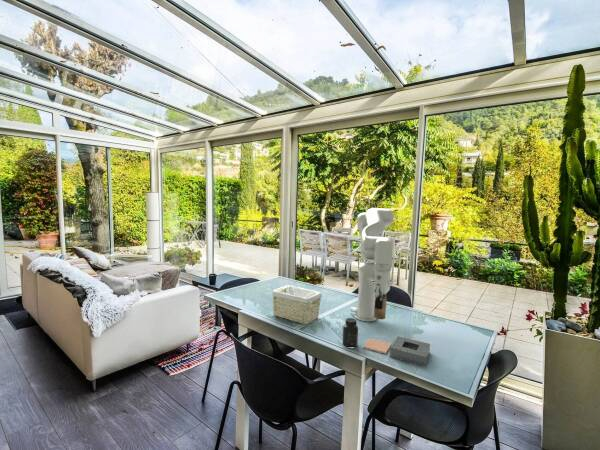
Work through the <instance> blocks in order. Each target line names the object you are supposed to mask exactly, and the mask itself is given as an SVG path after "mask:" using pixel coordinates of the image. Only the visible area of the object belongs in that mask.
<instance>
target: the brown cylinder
mask: <svg viewBox="0 0 600 450" xmlns="http://www.w3.org/2000/svg"><path fill="white" fill-rule="evenodd" d="M379 295H380V294H379ZM380 297H381V295H380ZM382 300H383V303H382V309H376V308H375V305H374V318H376V319H377V320H385V319H386V311H387V294H386V295H384V294H383V296H382Z"/></svg>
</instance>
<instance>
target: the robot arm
mask: <svg viewBox="0 0 600 450" xmlns="http://www.w3.org/2000/svg"><path fill="white" fill-rule="evenodd" d="M394 217H395V216H394V213H393V210H391V209H390V208H379V207H378V208H377V207H373V208H372V207H371V208H369V209H367V210H366V212H360V213H359V214H358V215H357V218H356V224H357V229H358V231H359V235H360V236H359V237H360V257H361V259H362V260H363V261H366V262H362V263H360V264H359V265H358V268H357V272H358V295H357V307H353V306H351V307H350V311H351V312H353V313H354V315H353V316H354V317H353V318H354V319H356V320H358V321H362V322H375V321H377V320H378V319H376V318H374V305H375V308H376V309H382V303H383V300H382V296H383V294H384V295H386V296H387V293H388V292H389V291H390V290H391V272H392V263H393V251H394V250H393V249H394V242H393V240H392V239H391V238H390V237H385V236H379V235H381V234H382V233H384V231H385V230H386V229H387V228H388V227H390V226H391V225H392V224H393V222H394V220H395V219H394ZM369 261H372V262H369ZM373 281H374V282H373ZM379 294H380V295H381V297H380V295H379Z"/></svg>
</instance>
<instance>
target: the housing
mask: <svg viewBox="0 0 600 450" xmlns="http://www.w3.org/2000/svg"><path fill="white" fill-rule="evenodd" d="M430 351H431V343H427V342H423V341H420V340H416V339H412V338H408V337H403V336H400V335H397V336H396V338H395V340H394V341H393V343H391V347H390V349H389V357H390V356H391V357H390V358H392V357H394V358H393V359H396V358H398V359H397V360H399V359H402V360H401V361H403V360H405V361H404V362H407V361H408V362H407V363H410V362H412V363H411V364H414V363H416V364H415V365H417V364H419V365H418V366H421V365H423V366H422V367H424V366H425V367H426V365H427V362H428V359H429V356H430V353H431V352H430Z"/></svg>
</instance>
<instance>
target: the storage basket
mask: <svg viewBox="0 0 600 450" xmlns="http://www.w3.org/2000/svg"><path fill="white" fill-rule="evenodd" d="M271 294H272V300H273V301H272V305H273V307H272V308H273V315H274V316H275V317H277V316H278V318H282V319H284V318H285V320H288V321H291V322H296V323H299V324H303V325H308V324H309V323H311V322H312V321H314V320H316V319H317V318H318V317H319V313H320V305H321V299H322V297H323V296H322V295H323V294H322V292H321V291H317V290H314V289H309V288H303V287H299V286H295V285H290V284H287V285H284V286H281V287H279V288H275V289H273V290H272V293H271Z"/></svg>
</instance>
